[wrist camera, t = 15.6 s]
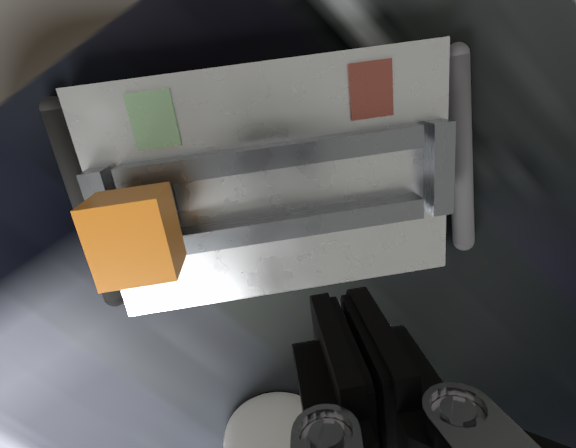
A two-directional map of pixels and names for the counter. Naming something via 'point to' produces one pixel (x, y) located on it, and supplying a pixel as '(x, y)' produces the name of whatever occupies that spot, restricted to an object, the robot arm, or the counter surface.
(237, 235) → the slider switch board
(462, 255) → the counter surface
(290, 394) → the mug
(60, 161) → the grey bar
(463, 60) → the grey rounded rod
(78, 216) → the orange block
